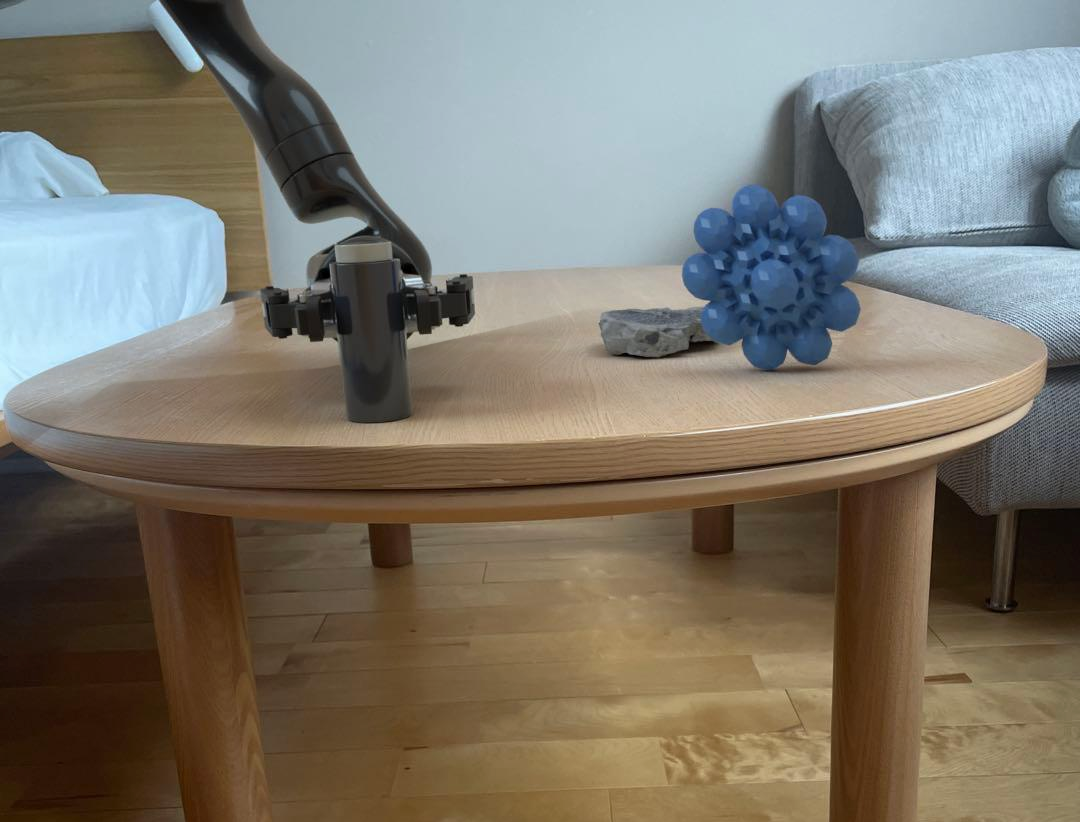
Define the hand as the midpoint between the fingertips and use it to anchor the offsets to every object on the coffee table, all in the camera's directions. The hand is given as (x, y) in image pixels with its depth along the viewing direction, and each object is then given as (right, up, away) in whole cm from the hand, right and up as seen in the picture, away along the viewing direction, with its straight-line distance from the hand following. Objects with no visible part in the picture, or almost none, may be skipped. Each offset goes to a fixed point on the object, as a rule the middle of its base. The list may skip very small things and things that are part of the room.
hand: (370, 319), depth 59 cm
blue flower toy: (+25, -1, +12) cm, 28 cm away
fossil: (+19, +3, +24) cm, 31 cm away
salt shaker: (0, -5, +4) cm, 7 cm away
